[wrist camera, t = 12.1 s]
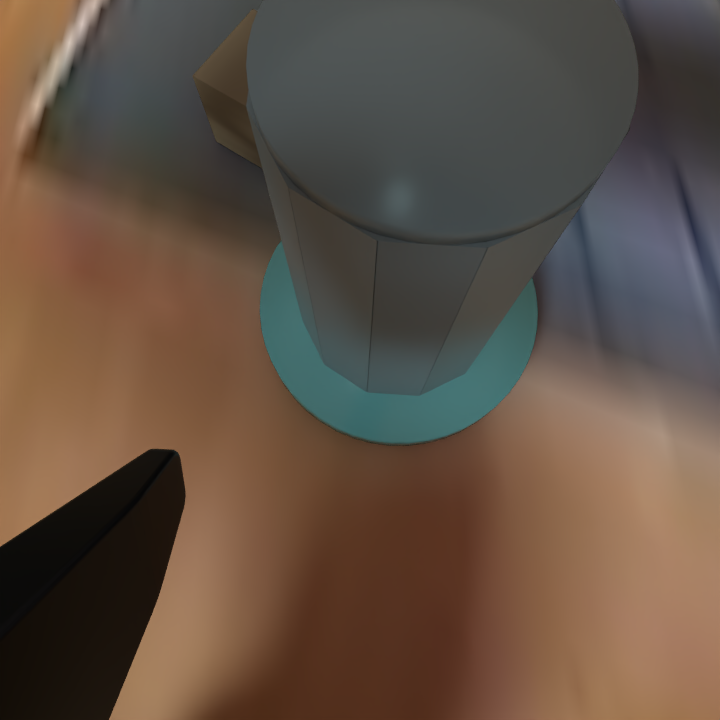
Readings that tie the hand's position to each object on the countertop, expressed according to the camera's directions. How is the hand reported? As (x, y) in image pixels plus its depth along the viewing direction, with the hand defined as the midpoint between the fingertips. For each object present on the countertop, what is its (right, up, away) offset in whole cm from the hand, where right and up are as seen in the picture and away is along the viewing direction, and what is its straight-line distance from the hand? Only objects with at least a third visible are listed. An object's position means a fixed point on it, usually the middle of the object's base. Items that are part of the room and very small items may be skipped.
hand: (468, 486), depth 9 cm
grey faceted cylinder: (0, +4, +14) cm, 15 cm away
